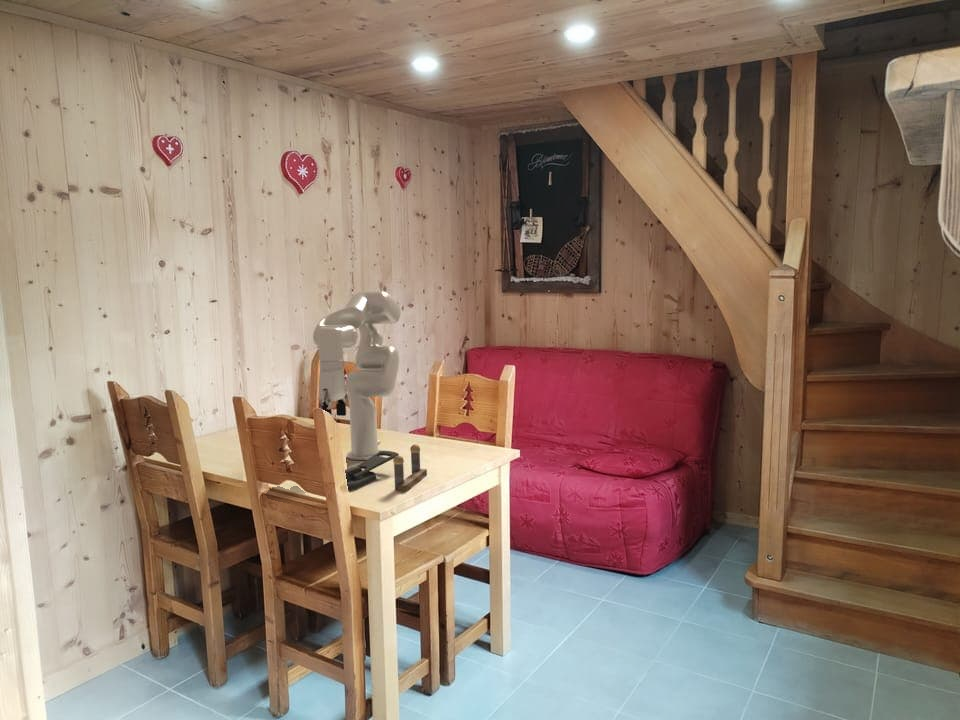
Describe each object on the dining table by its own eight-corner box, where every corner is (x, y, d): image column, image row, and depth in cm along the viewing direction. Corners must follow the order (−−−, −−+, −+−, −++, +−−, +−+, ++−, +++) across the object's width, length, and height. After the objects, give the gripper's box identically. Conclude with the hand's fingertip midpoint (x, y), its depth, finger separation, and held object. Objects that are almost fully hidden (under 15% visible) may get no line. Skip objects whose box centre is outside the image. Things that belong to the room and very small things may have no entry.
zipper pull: (401, 452, 223) (348, 471, 202) (402, 472, 223) (349, 492, 203) (381, 449, 228) (327, 467, 207) (381, 468, 228) (328, 488, 207)
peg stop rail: (413, 474, 220) (412, 442, 219) (426, 475, 219) (425, 443, 218) (392, 491, 203) (390, 457, 202) (406, 492, 202) (405, 457, 200)
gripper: (334, 362, 223) (336, 412, 225) (307, 369, 206) (310, 423, 208) (354, 362, 221) (356, 413, 223) (329, 369, 204) (331, 424, 206)
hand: (334, 418), depth 215 cm, fingers open, 9 cm apart
